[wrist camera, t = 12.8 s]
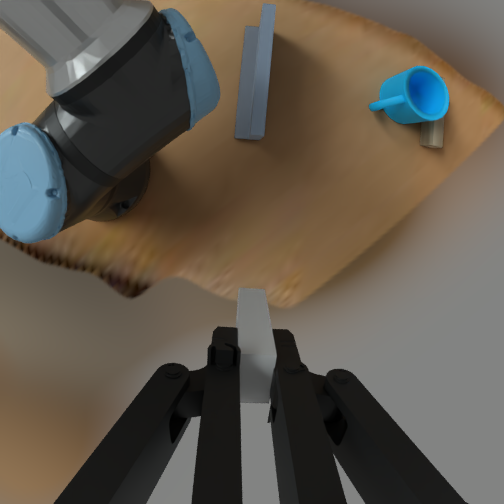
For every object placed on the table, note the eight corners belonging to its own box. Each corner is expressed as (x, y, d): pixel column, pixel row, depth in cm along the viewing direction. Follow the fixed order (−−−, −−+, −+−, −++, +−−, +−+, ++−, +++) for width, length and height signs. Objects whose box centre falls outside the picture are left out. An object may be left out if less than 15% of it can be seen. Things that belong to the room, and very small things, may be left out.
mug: (411, 73, 40) (437, 62, 32) (427, 118, 43) (456, 114, 35) (351, 87, 41) (371, 75, 33) (369, 135, 43) (393, 132, 36)
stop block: (419, 145, 44) (432, 145, 40) (422, 78, 40) (435, 74, 37) (429, 147, 44) (442, 147, 40) (431, 82, 41) (444, 78, 37)
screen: (234, 138, 43) (233, 133, 34) (245, 27, 38) (246, 1, 29) (259, 140, 43) (264, 135, 35) (269, 30, 38) (275, 4, 30)
